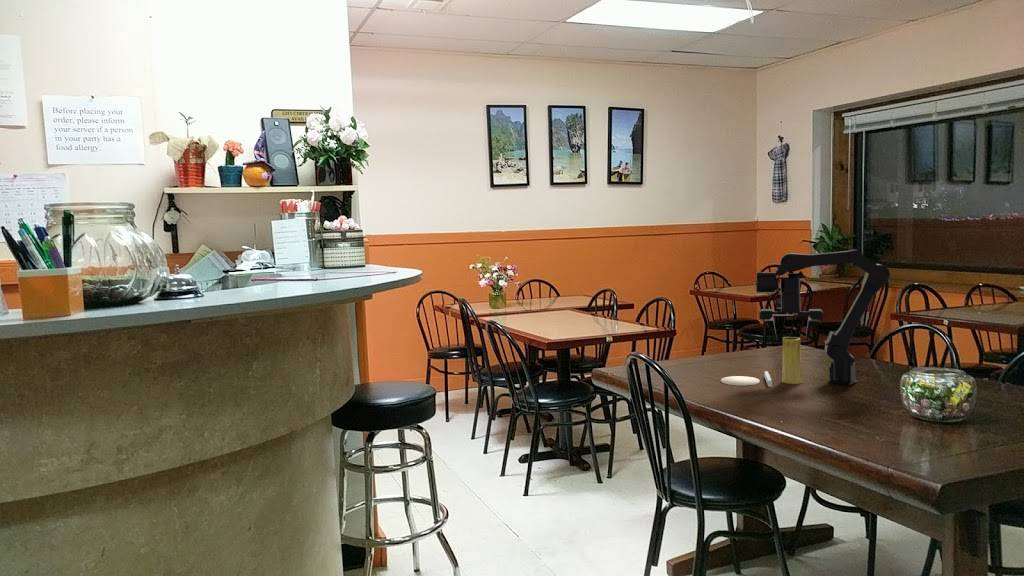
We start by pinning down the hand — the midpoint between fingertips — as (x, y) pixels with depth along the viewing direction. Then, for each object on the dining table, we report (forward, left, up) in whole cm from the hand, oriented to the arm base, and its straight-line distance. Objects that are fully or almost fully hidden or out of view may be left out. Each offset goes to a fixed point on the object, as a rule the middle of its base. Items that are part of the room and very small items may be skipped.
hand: (791, 341), depth 222 cm
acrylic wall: (+5, +6, -13) cm, 15 cm away
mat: (+12, +11, -13) cm, 21 cm away
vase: (-1, +2, -13) cm, 13 cm away
